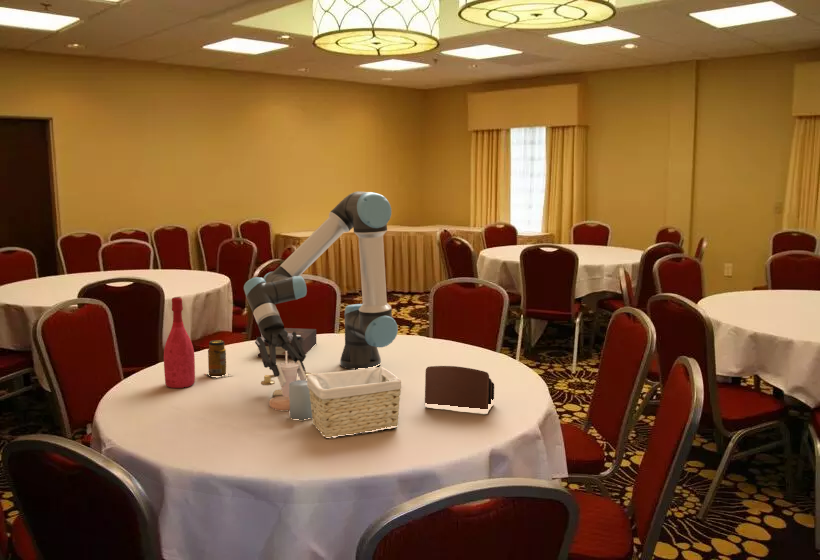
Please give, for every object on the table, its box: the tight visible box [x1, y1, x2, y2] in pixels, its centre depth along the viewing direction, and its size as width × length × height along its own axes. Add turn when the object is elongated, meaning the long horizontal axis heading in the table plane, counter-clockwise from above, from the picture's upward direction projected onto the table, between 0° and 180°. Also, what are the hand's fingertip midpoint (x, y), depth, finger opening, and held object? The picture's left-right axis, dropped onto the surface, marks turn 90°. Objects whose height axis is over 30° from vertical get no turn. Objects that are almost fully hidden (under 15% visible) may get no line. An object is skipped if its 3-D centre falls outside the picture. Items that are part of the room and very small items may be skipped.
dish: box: [269, 395, 290, 412], centre depth 222 cm, size 12×12×1 cm
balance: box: [260, 369, 313, 398], centre depth 231 cm, size 16×5×9 cm, turn 93°
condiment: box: [207, 339, 234, 379], centre depth 252 cm, size 7×8×12 cm
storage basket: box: [306, 366, 402, 438], centre depth 202 cm, size 24×16×15 cm
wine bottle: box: [163, 296, 196, 389], centre depth 238 cm, size 10×10×30 cm
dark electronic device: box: [257, 327, 317, 360], centre depth 288 cm, size 19×8×30 cm
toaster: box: [424, 365, 495, 409], centre depth 220 cm, size 10×20×14 cm, turn 72°
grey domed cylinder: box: [289, 379, 313, 421], centre depth 210 cm, size 7×7×10 cm
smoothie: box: [278, 351, 299, 397], centre depth 220 cm, size 6×6×14 cm
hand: (294, 382), depth 218 cm, fingers closed on smoothie, 6 cm apart
